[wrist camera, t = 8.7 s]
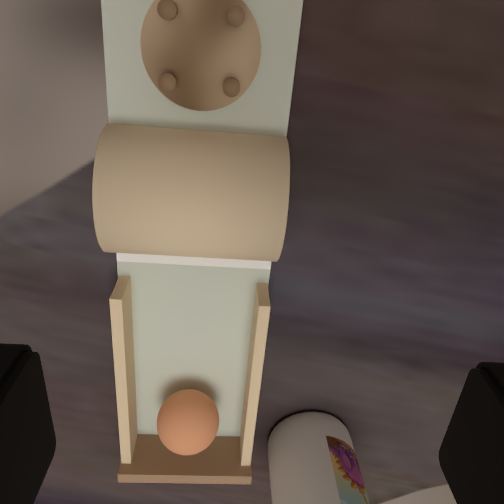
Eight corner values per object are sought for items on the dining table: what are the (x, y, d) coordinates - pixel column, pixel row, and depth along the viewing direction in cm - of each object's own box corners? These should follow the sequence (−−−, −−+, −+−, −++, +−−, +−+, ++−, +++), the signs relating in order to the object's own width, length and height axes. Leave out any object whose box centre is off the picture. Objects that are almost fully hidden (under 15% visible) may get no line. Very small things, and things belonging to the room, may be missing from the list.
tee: (266, -14, 24) (267, -15, 23) (255, 114, 28) (256, 118, 27) (139, -27, 24) (135, -29, 23) (142, 105, 27) (139, 108, 26)
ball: (220, 416, 33) (216, 470, 35) (221, 378, 38) (217, 427, 40) (152, 413, 33) (151, 469, 34) (161, 376, 38) (160, 426, 39)
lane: (297, -10, 27) (320, -18, 20) (247, 418, 44) (251, 495, 37) (112, -29, 26) (68, -44, 19) (134, 415, 43) (115, 493, 36)
